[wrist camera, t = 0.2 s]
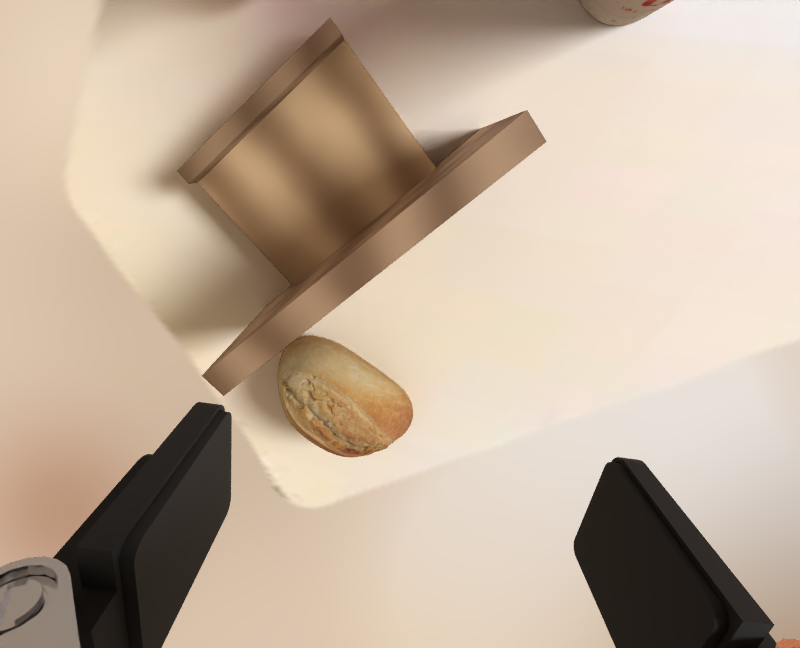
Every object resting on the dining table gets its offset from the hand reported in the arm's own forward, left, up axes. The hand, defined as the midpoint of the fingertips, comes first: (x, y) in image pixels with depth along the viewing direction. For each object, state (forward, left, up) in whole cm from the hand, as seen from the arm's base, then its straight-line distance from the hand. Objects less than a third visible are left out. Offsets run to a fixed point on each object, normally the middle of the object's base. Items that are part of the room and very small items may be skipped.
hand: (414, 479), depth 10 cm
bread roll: (+14, +8, -31) cm, 35 cm away
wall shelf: (+2, -9, -31) cm, 32 cm away
